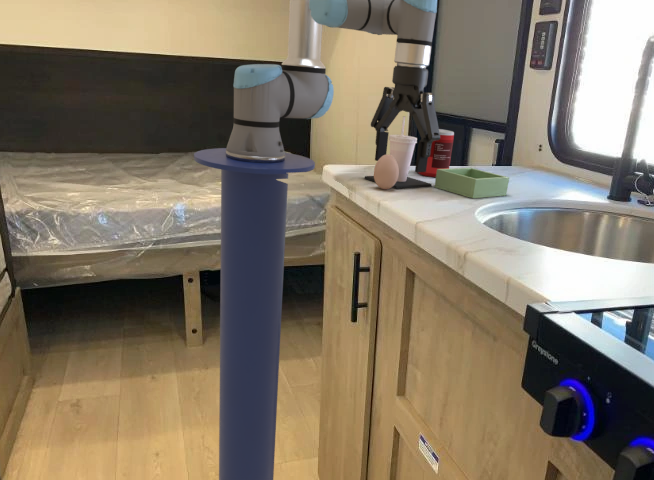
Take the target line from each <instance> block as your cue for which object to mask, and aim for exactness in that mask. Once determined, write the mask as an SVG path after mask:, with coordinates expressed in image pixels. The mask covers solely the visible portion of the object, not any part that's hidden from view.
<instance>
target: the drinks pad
mask: <svg viewBox="0 0 654 480" xmlns="http://www.w3.org/2000/svg"><path fill="white" fill-rule="evenodd" d="M364 179H365V180H367V181H370V182H373V183H376V182H375V180H374V175H365V176H364ZM432 185H433V184H432V183H431V182H426V181H423V180H420V179H416V178H413V177H409V176H407V180H406V181H405V182H399V181H397V182H396V183H395V184H394V186H393V187H391V188H392V189H396V190H399V189H400V190H403V189H415V188H416V189H417V188H429V187H431V188H432Z"/></svg>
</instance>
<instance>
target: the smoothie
mask: <svg viewBox="0 0 654 480" xmlns="http://www.w3.org/2000/svg"><path fill="white" fill-rule="evenodd" d="M405 124H406V115H405V116H404V115H403V116H402V120H401V128H400V129H401V130H400V134H388V141H389V155H391V156H393V157H394V158H395V160H396V162H397V164H398V168H399V175H398V179H397V181H399V182H405V181H406V180H407V177H409V176H408V175H409V171H410V167H411V163H412V159H413V155H414V151H415V147H416V144H418V137H415V136H411V135H404V131H405Z"/></svg>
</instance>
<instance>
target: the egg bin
mask: <svg viewBox="0 0 654 480" xmlns="http://www.w3.org/2000/svg"><path fill="white" fill-rule="evenodd" d="M434 181H435V182H434V188H436V189H439V190H443V191H446V192H450V193H452V194H457V195H459V196H463V197H467V198H469V199H481V198H482V199H483V198H492V197H503V196H504V197H505V196H507V194H508V189H509V188H508V187H509V182H510V177H509V176H505V175H501V174H497V173H494V172H489V171H485V170H481V169H478V168H473V167H457V168H449V169H437V173H436V177H435V180H434Z"/></svg>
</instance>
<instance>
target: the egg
mask: <svg viewBox="0 0 654 480" xmlns="http://www.w3.org/2000/svg"><path fill="white" fill-rule="evenodd" d="M398 175H399V168H398V164H397V162H396V160H395V158H394V157H393V156H391V155H390V153H389V154H388V153H386V155H383V156H382V157H381V158H380V159H379V160H378V161H376V163H375V165H374V169H373V176H374V180H375V182H374V183H375V184H376V185H377V186H378V188H380V189H382V190H389V189H391V188H392V187H393V186H394V184H395V183H396V182H397V179H398Z"/></svg>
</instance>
